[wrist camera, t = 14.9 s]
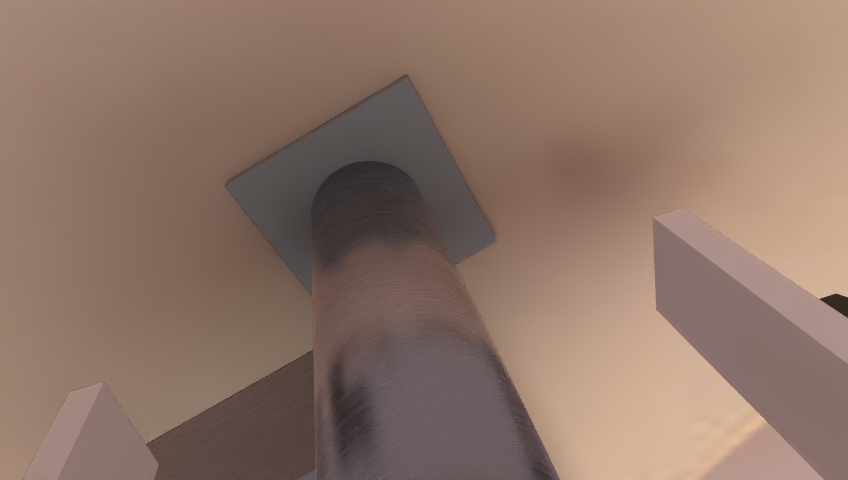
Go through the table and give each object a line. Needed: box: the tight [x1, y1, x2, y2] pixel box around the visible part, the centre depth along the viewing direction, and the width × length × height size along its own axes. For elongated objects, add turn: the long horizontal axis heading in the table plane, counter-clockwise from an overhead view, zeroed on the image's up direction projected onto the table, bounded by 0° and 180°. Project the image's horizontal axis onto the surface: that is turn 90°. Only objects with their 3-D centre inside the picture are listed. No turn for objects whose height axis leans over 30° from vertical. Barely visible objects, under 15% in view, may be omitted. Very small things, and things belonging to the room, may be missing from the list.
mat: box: [225, 75, 497, 297], centre depth 20 cm, size 7×7×1 cm
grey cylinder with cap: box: [311, 161, 560, 480], centre depth 13 cm, size 5×5×16 cm
